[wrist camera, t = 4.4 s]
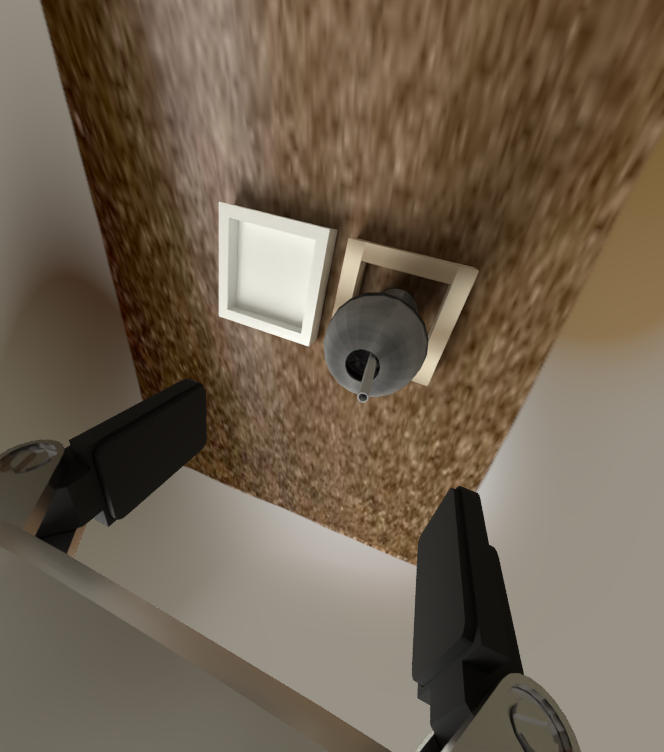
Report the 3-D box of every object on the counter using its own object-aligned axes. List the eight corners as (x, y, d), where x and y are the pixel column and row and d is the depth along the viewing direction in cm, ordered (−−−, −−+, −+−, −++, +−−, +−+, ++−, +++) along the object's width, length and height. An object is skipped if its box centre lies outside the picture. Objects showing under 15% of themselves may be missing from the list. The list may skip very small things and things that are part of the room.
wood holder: (356, 238, 28) (348, 237, 25) (474, 267, 25) (479, 270, 23) (333, 342, 33) (324, 351, 31) (427, 374, 31) (427, 385, 29)
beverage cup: (349, 295, 30) (240, 364, 13) (413, 259, 27) (376, 293, 10) (378, 352, 32) (315, 479, 15) (441, 326, 28) (452, 452, 11)
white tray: (234, 204, 30) (218, 201, 28) (337, 230, 28) (329, 229, 26) (231, 311, 36) (218, 316, 34) (316, 339, 34) (308, 346, 32)
